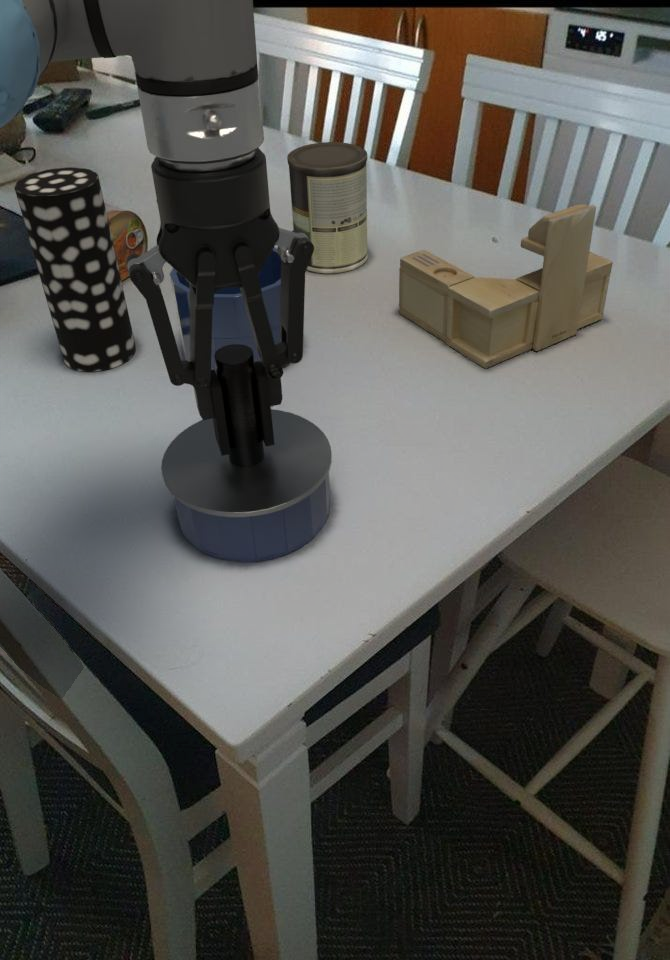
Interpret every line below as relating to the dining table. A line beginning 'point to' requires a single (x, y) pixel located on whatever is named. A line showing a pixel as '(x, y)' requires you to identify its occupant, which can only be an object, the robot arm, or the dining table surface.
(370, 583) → the dining table surface
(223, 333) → the pot
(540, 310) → the toy kitchen set
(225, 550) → the pan
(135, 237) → the tin
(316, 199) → the coffee can
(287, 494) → the lid
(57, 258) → the white-spotted black cylinder
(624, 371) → the dining table surface
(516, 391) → the dining table surface
